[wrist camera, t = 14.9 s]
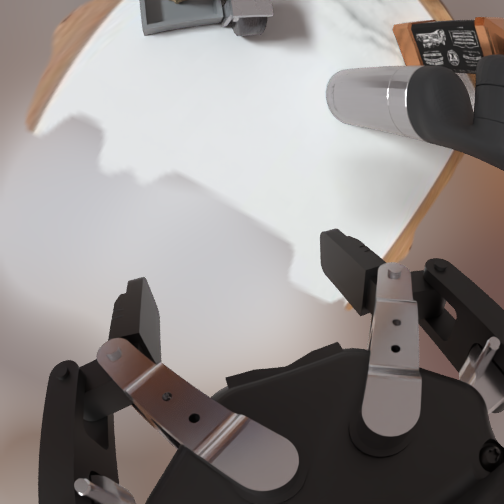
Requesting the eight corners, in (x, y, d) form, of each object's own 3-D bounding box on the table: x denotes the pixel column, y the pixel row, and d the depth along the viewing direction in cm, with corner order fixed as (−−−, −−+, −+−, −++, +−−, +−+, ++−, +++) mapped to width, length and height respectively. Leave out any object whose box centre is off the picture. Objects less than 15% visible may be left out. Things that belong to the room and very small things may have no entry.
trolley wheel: (248, -16, 28) (271, -42, 20) (257, 39, 32) (282, 22, 24) (211, -14, 27) (224, -43, 19) (219, 42, 32) (234, 23, 23)
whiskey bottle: (408, 75, 40) (572, 102, 13) (390, 25, 35) (558, 21, 7) (439, 65, 40) (582, 90, 13) (423, 20, 35) (569, 24, 7)
